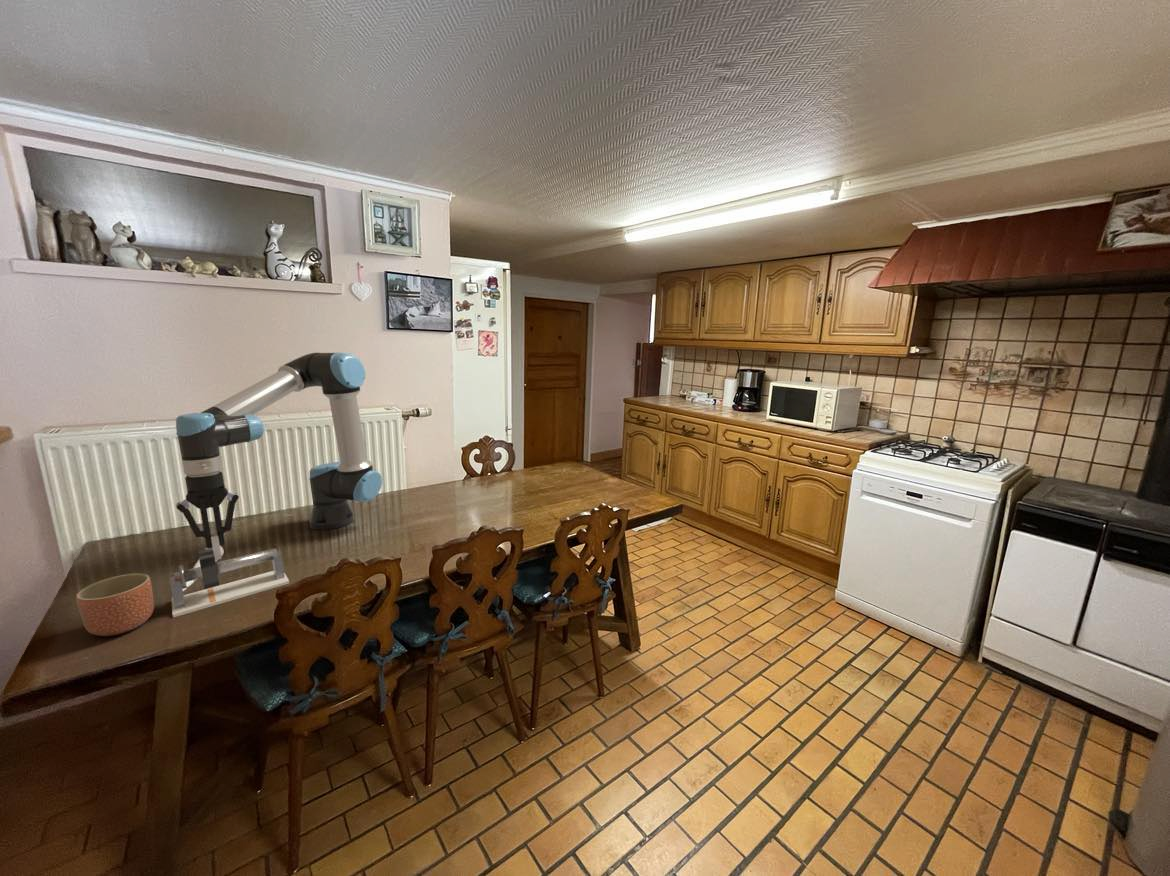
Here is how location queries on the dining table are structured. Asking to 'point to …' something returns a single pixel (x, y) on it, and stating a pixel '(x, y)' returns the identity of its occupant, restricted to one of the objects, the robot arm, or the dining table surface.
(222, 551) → the unicorn horn
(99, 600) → the planter
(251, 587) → the board
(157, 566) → the dining table surface
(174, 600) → the linear slide rail
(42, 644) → the dining table surface
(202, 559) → the collar
